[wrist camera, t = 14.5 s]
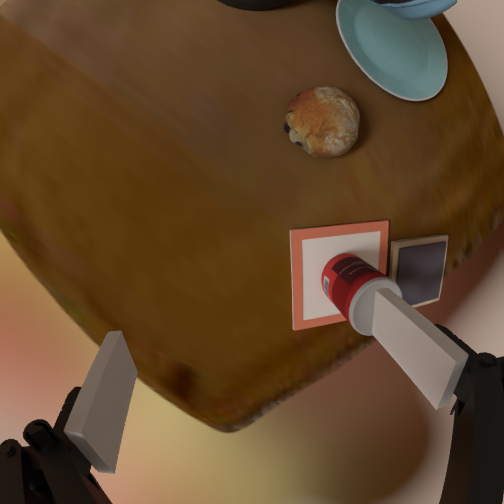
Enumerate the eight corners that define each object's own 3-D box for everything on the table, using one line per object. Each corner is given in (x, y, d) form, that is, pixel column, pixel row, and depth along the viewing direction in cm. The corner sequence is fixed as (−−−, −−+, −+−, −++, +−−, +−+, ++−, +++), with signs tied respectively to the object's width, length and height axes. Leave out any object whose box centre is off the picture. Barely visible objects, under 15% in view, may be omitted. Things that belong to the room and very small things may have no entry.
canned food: (340, 308, 45) (372, 345, 34) (308, 279, 42) (338, 315, 32) (373, 273, 44) (412, 302, 33) (343, 241, 41) (383, 266, 31)
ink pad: (391, 241, 43) (396, 243, 42) (444, 233, 45) (450, 236, 43) (384, 312, 47) (388, 316, 46) (436, 298, 48) (440, 301, 47)
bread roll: (330, 159, 42) (373, 161, 35) (277, 157, 36) (323, 157, 30) (328, 97, 39) (371, 91, 32) (275, 85, 33) (320, 72, 27)
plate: (443, 115, 38) (453, 114, 36) (333, 88, 35) (341, 83, 33) (429, 13, 32) (438, 9, 29) (324, -25, 29) (330, -33, 26)
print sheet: (289, 229, 40) (290, 230, 40) (387, 220, 42) (388, 220, 41) (293, 328, 45) (293, 330, 45) (380, 310, 47) (381, 312, 46)
